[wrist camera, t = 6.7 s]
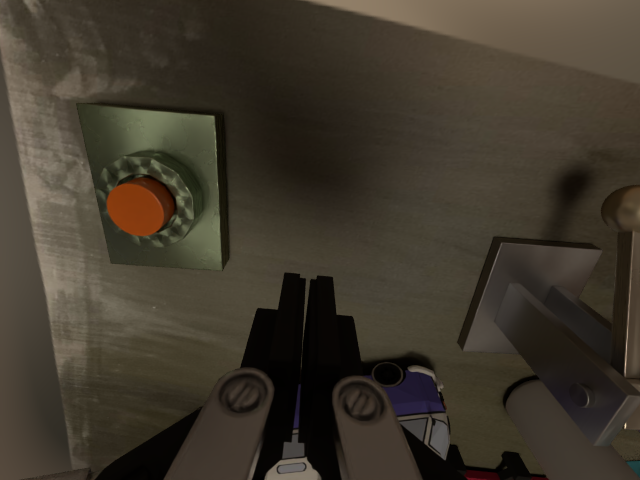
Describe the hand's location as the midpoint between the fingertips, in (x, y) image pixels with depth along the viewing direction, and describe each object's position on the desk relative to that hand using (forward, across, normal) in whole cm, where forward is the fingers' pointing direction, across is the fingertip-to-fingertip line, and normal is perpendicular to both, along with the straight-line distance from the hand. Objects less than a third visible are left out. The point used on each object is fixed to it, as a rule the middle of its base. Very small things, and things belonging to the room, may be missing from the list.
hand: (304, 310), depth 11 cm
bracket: (+16, -21, +8) cm, 28 cm away
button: (+12, +11, +1) cm, 17 cm away
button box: (+16, +11, +1) cm, 19 cm away
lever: (+9, -21, +3) cm, 23 cm away
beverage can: (+16, -27, +21) cm, 38 cm away
